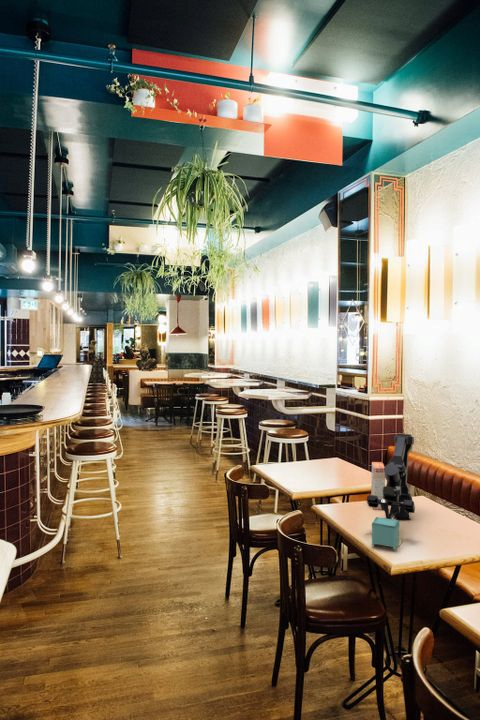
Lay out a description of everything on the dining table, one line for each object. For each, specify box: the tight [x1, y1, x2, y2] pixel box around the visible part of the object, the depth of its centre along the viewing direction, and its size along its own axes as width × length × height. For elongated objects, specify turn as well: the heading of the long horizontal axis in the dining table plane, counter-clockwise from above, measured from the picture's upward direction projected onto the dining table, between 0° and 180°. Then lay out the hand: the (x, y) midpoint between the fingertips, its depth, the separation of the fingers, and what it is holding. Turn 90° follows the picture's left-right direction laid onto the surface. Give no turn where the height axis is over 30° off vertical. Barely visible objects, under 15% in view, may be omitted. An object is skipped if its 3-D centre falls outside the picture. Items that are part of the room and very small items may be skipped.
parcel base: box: [396, 536, 404, 548], centre depth 200 cm, size 10×10×1 cm
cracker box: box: [370, 461, 386, 511], centre depth 246 cm, size 14×6×21 cm, turn 168°
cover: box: [371, 516, 400, 550], centre depth 194 cm, size 8×9×9 cm
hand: (387, 522), depth 198 cm, fingers closed, pressing on cover
